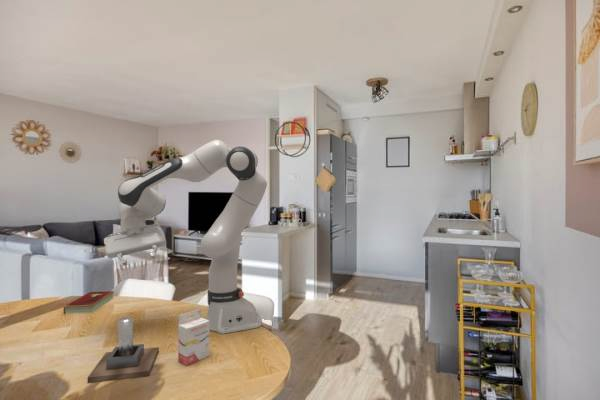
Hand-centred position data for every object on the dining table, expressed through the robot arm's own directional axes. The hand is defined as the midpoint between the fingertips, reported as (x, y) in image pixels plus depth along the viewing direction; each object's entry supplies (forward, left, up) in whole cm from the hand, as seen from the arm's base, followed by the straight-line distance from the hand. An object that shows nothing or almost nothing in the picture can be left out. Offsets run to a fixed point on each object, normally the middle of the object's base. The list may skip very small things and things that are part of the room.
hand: (139, 261), depth 120 cm
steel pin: (0, +18, -27) cm, 33 cm away
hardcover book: (+32, -45, -29) cm, 62 cm away
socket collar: (0, +18, -27) cm, 33 cm away
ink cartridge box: (-20, +18, -29) cm, 40 cm away
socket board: (0, +18, -29) cm, 34 cm away
